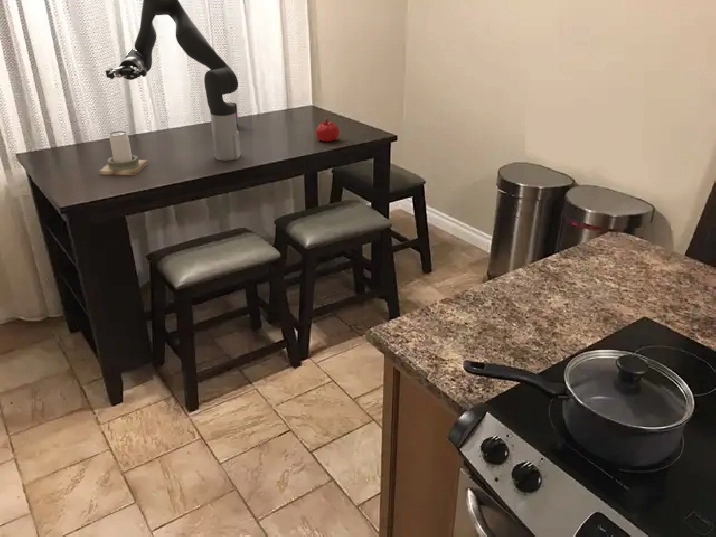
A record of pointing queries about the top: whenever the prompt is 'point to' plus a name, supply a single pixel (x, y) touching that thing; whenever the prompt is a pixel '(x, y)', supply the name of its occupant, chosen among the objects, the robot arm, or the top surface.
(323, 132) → the pomegranate
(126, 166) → the can holder
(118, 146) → the can
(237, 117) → the supplement container
